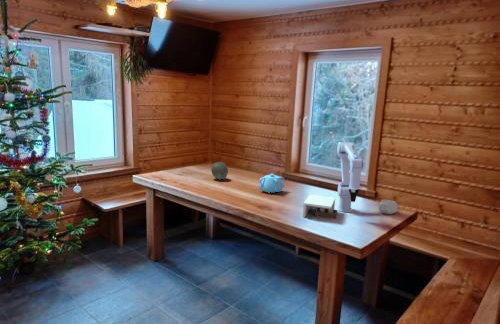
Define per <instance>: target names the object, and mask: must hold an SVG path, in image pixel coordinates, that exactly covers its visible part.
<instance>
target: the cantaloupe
mask: <svg viewBox="0 0 500 324" xmlns="http://www.w3.org/2000/svg"><path fill="white" fill-rule="evenodd" d="M210 170H211V175H212V176H213V177H214V178H215V179H217V180H218V179H219V181H222V180H221V179H223V180H225V179H226V178H227V176H228V173H229V167H228V166H227V164H226V163H225V162H222V161H216V162H214V163H213V164H212V166H211V169H210Z"/></svg>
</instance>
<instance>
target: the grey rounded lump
mask: <svg viewBox="0 0 500 324" xmlns="http://www.w3.org/2000/svg"><path fill="white" fill-rule="evenodd" d="M398 206H399V204H398V203H397V201H394V200H392V199H391V200H390V199H381V201H379V204H378V211H379V212H380V214H385V215H392V214H395V213H397V211H398V209H399V207H398Z"/></svg>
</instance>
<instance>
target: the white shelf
mask: <svg viewBox="0 0 500 324" xmlns="http://www.w3.org/2000/svg"><path fill="white" fill-rule="evenodd" d="M335 201H336V198H335V197H330V196H324V195H323V196H322V195H314V194H309V195H308V196H307V198H306V199H305V201H304V202H303V204H302V218H306V216H307V214H308V213H309V211H310V210H312V209H313V210H317V208H320V207H322V208H326V209H328V208H329V209H331V208H332V206H334V208H333V210H335V203H336V202H335Z"/></svg>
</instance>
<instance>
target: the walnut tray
mask: <svg viewBox="0 0 500 324" xmlns="http://www.w3.org/2000/svg"><path fill="white" fill-rule="evenodd" d="M333 208H334V210H333ZM338 212H339V211H338V209H335V206H332V208H331V209H329V208H328V209H326V208H322V207H320V208H317V209H315V215H314V216H315V217H322V218H327V219H334V220H335V219H337V217H338Z"/></svg>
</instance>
